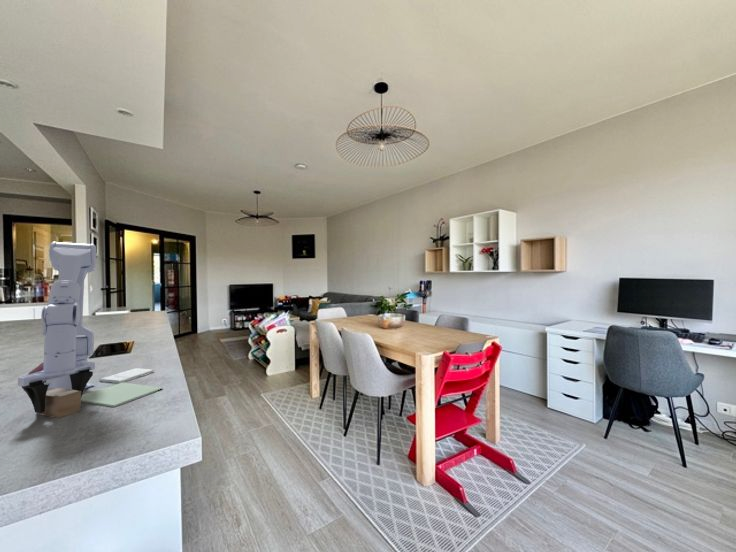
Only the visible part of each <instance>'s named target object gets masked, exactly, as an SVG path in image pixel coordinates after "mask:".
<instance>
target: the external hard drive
mask: <svg viewBox="0 0 736 552" xmlns="http://www.w3.org/2000/svg"><path fill="white" fill-rule="evenodd" d="M153 371H154V372H155V370H154V369H151V368H150V369H149V368H140V367H138V368H137V367H135V368H132V369H128V370H125V371H121V372H118V373H116V374H112V375H109V376H105V377H102V378H99V380H98V382H99V381H105V382H104V383H111V382H113V383H112V384H119V383H123V382H124V383H127V382H129V381H132V380H135V379H138V378H140V377H139V376H141V377H143V376H142V375H144V376H146V375H145V374H148V373H151V372H153ZM151 374H152V373H151ZM148 375H149V374H148ZM137 377H138V378H137ZM134 378H135V379H134Z"/></svg>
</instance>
